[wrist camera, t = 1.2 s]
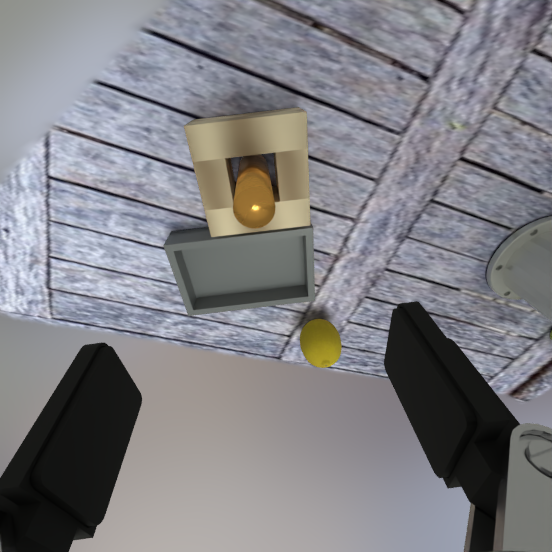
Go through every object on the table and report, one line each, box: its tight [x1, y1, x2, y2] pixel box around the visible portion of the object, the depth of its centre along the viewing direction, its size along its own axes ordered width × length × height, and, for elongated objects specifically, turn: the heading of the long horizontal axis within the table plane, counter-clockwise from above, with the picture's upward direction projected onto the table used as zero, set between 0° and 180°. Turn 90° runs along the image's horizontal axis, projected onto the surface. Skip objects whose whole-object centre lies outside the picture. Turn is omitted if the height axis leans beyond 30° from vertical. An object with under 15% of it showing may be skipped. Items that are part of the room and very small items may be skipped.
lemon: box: [300, 319, 341, 368], centre depth 40 cm, size 6×6×8 cm
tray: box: [164, 222, 315, 316], centre depth 35 cm, size 16×10×4 cm, turn 95°
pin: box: [233, 154, 275, 229], centre depth 25 cm, size 3×3×12 cm
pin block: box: [184, 107, 310, 237], centre depth 28 cm, size 10×10×5 cm
